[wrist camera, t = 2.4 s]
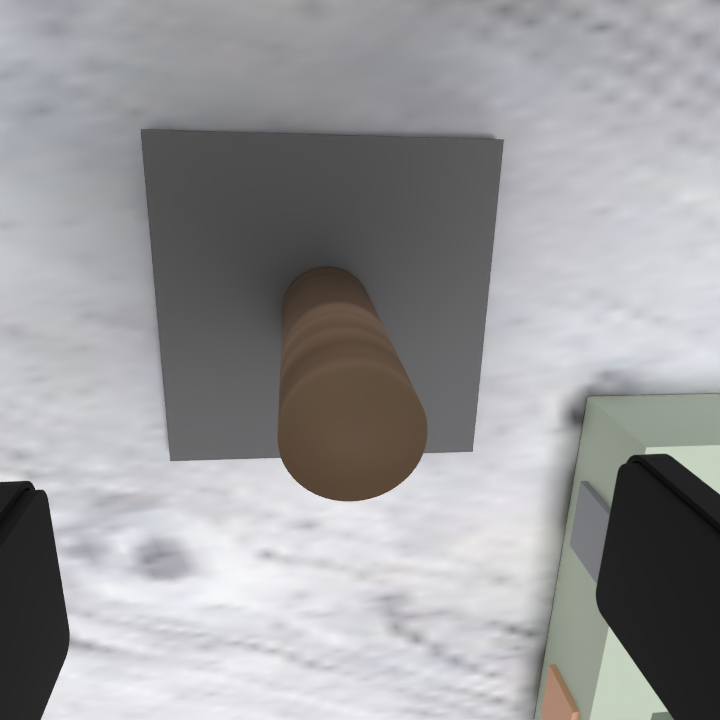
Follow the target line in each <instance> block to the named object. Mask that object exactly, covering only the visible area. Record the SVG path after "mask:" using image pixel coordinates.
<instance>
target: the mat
mask: <svg viewBox="0 0 720 720" xmlns="http://www.w3.org/2000/svg"><path fill="white" fill-rule="evenodd" d="M141 139H142V150H143V161H144V172H145V183H146V195H147V206H148V217H149V228H150V239H151V250H152V261H153V273H154V284H155V295H156V306H157V317H158V328H159V340H160V351H161V362H162V373H163V384H164V395H165V406H166V418H167V429H168V440H169V451H170V461H189V460H221V459H253V458H281V456H280V452H279V448H278V439H277V436H278V411H279V386H280V361H281V336H282V311H283V301H284V297H285V294H286V292H287V290H288V288H289V287H290V285H291V284H292V283H293V282H294V280H295V279H296V278H298V277H299V276H300V275H302V274H303V273H305V272H307V271H309V270H311V269H314V268H319V267H335V268H340V269H343V270H345V271H347V272H349V273H351V274H352V275H354V276H355V277H356V278H357V279H358V280H359V281H360V282H361V283H362V284H363V286H364V287H365V289H366V291H367V293H368V295H369V297H370V299H371V301H372V303H373V305H374V308H375V310H376V312H377V314H378V316H379V318H380V320H381V322H382V324H383V326H384V328H385V330H386V332H387V334H388V336H389V338H390V340H391V342H392V344H393V346H394V348H395V351H396V353H397V355H398V357H399V359H400V361H401V363H402V365H403V367H404V369H405V371H406V373H407V375H408V377H409V379H410V381H411V383H412V385H413V387H414V389H415V391H416V393H417V396H418V398H419V400H420V402H421V404H422V406H423V408H424V411H425V415H426V419H427V425H428V435H427V442H426V446H425V449H424V453H445V452H473V442H474V432H475V422H476V412H477V402H478V392H479V382H480V372H481V362H482V352H483V342H484V332H485V322H486V312H487V302H488V292H489V282H490V272H491V262H492V252H493V242H494V232H495V222H496V212H497V202H498V192H499V182H500V171H501V161H502V151H503V141H504V140H501V139H465V138H429V137H393V136H358V135H322V134H286V133H250V132H215V131H179V130H143V129H141Z"/></svg>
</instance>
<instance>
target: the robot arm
mask: <svg viewBox="0 0 720 720" xmlns="http://www.w3.org/2000/svg"><path fill="white" fill-rule="evenodd" d="M596 602H597V606H598V609H599V612H600V613H601V615H602V617H603V618H604V620H605V621H606V623H607V624H608V625H609V627H610V628H611V630H612V631H613V633H614V634H615V635H616V637H617V638H618V640H619V641H620V643H621V644H622V646H623V647H624V648H625V650H626V651H627V653H628V654H629V656H630V657H631V659H632V660H633V661H634V663H635V664H636V666H637V667H638V669H639V670H640V672H641V673H642V674H643V676H644V677H645V679H646V680H647V682H648V683H649V684H650V686H651V687H652V689H653V690H654V692H655V693H656V695H657V696H658V697H659V699H660V700H661V702H662V703H663V705H664V706H665V708H666V709H667V710H668V712H669V713H670V715H671V716H672V718H673V719H674V720H720V494H719V493H718V492H716V491H715V490H714V489H712V488H711V487H710V486H709V485H707V484H706V483H705V482H704V481H702V480H701V479H700V478H698V477H697V476H696V475H695V474H693V473H692V472H691V471H690V470H688V469H687V468H686V467H684V466H683V465H682V464H681V463H679V462H678V461H677V460H676V459H674V458H673V457H672V456H670V455H668V454H642V455H633V456H631V457H629V459H628V460H627V462H626V464H622V465H621V466H620V467H619V469H618V473H617V478H616V483H615V489H614V494H613V500H612V505H611V510H610V516H609V521H608V527H607V532H606V538H605V543H604V549H603V554H602V560H601V565H600V570H599V576H598V581H597V587H596ZM69 636H70V633H69V625H68V619H67V613H66V607H65V601H64V594H63V588H62V582H61V576H60V570H59V564H58V558H57V552H56V546H55V539H54V533H53V527H52V521H51V515H50V509H49V503H48V498H47V494H46V493H45V491H44V490H35V488H34V486H33V484H32V483H31V482H30V481H15V482H0V720H41V717H42V715H43V712H44V710H45V708H46V705H47V703H48V700H49V698H50V695H51V693H52V690H53V688H54V685H55V683H56V680H57V678H58V676H59V673H60V671H61V668H62V666H63V663H64V661H65V658H66V655H67V652H68V647H69Z"/></svg>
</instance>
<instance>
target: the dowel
mask: <svg viewBox="0 0 720 720" xmlns="http://www.w3.org/2000/svg"><path fill="white" fill-rule="evenodd" d="M427 435H428V425H427V419H426V415H425V411H424V408H423V406H422V404H421V402H420V400H419V398H418V396H417V393H416V391H415V389H414V387H413V385H412V383H411V381H410V379H409V377H408V375H407V373H406V371H405V369H404V367H403V365H402V363H401V361H400V359H399V357H398V355H397V353H396V351H395V348H394V346H393V344H392V342H391V340H390V338H389V336H388V334H387V332H386V330H385V328H384V326H383V324H382V322H381V320H380V318H379V316H378V314H377V312H376V310H375V308H374V305H373V303H372V301H371V299H370V297H369V295H368V293H367V291H366V289H365V287H364V286H363V284H362V283H361V282H360V281H359V280H358V279H357V278H356V277H355V276H354V275H352V274H351V273H349V272H347V271H345V270H343V269H340V268H335V267H319V268H314V269H311V270H309V271H307V272H305V273H303V274H302V275H300V276H299V277H298V278H296V279H295V280H294V282H293V283H292V284H291V285H290V287H289V288H288V290H287V292H286V294H285V297H284V301H283V311H282V336H281V361H280V386H279V411H278V436H277V439H278V448H279V452H280V456H281V459H282V461H283V463H284V465H285V467H286V469H287V470H288V472H289V473H290V474H291V476H292V477H293V478H294V479H295V480H296V481H297V482H298V483H299V484H300V485H302V486H303V487H304V488H306V489H307V490H309V491H311V492H312V493H314V494H316V495H319V496H321V497H324V498H328V499H332V500H338V501H360V500H366V499H370V498H374V497H377V496H380V495H382V494H384V493H386V492H388V491H390V490H392V489H393V488H395V487H396V486H398V485H399V484H400V483H402V482H403V481H404V480H405V479H406V478H407V477H408V476H409V475H410V474H411V473H412V471H413V470H414V469H415V468H416V466H417V464H418V463H419V461H420V459H421V457H422V455H423V453H424V449H425V446H426V442H427Z"/></svg>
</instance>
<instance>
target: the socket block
mask: <svg viewBox="0 0 720 720" xmlns="http://www.w3.org/2000/svg"><path fill="white" fill-rule="evenodd" d="M642 454H668V455H670V456H672V457H673V458H674V459H676V460H677V461H678V462H679V463H681V464H682V465H683V466H684V467H686V468H687V469H688V470H690V471H691V472H692V473H693V474H695V475H696V476H697V477H698V478H700V479H701V480H702V481H704V482H705V483H706V484H707V485H709V486H710V487H711V488H712V489H714V490H715V491H716V492H718V493H719V494H720V394H676V395H629V396H588V397H587V403H586V409H585V415H584V421H583V427H582V433H581V439H580V445H579V451H578V457H577V463H576V469H575V476H574V482H573V488H572V494H571V500H570V506H569V512H568V518H567V524H566V530H565V536H564V542H563V548H562V554H561V560H560V566H559V572H558V578H557V584H556V590H555V596H554V602H553V608H552V614H551V620H550V626H549V632H548V638H547V644H546V650H545V656H544V663H543V669H542V675H541V681H540V687H539V693H538V699H537V705H536V711H535V717H534V720H674V719H673V718H672V716H671V715H670V713H669V712H668V710H667V709H666V708H665V706H664V705H663V703H662V702H661V700H660V699H659V697H658V696H657V695H656V693H655V692H654V690H653V689H652V687H651V686H650V684H649V683H648V682H647V680H646V679H645V677H644V676H643V674H642V673H641V672H640V670H639V669H638V667H637V666H636V664H635V663H634V661H633V660H632V659H631V657H630V656H629V654H628V653H627V651H626V650H625V648H624V647H623V646H622V644H621V643H620V641H619V640H618V638H617V637H616V635H615V634H614V633H613V631H612V630H611V628H610V627H609V625H608V624H607V623H606V621H605V620H604V618H603V617H602V615H601V613H600V612H599V609H598V606H597V602H596V587H597V581H598V576H599V570H600V565H601V560H602V554H603V549H604V543H605V538H606V532H607V527H608V521H609V516H610V510H611V505H612V500H613V494H614V489H615V483H616V478H617V473H618V469H619V467H620V466H621V465H622V464H626V462H627V460H628V459H629V457H631V456H633V455H642Z"/></svg>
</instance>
